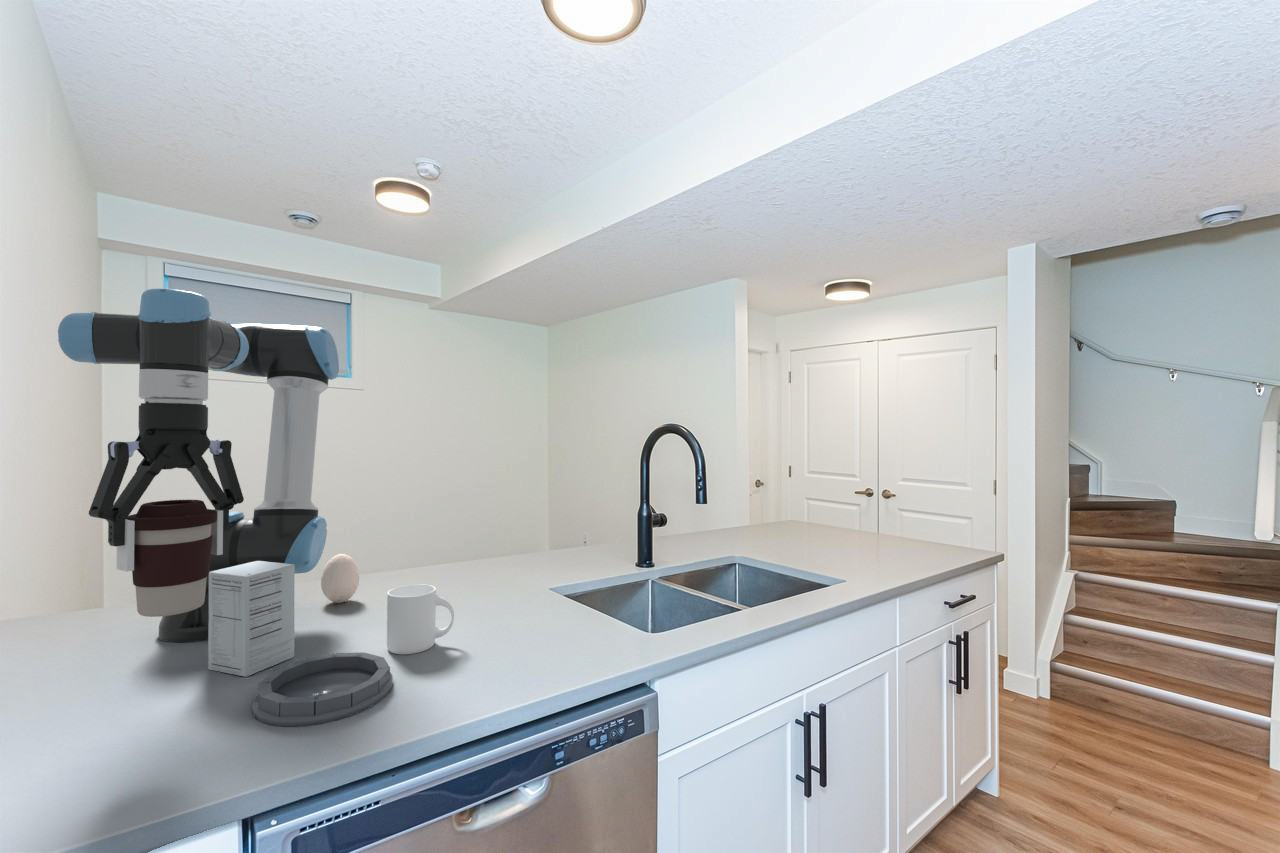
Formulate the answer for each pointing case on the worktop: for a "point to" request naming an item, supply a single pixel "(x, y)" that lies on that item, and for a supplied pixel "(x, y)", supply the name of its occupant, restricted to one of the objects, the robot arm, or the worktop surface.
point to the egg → (340, 578)
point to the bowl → (322, 689)
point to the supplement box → (250, 617)
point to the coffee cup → (171, 556)
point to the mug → (414, 618)
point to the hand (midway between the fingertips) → (172, 561)
